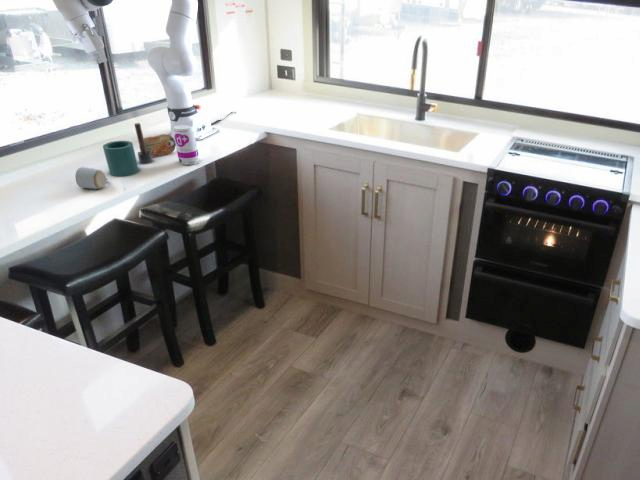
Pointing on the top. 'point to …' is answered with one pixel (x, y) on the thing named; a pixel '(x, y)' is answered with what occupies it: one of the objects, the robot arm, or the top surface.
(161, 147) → the tin
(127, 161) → the teal pen holder
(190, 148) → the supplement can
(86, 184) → the ceramic mug
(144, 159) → the dish brush
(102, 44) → the robot arm
